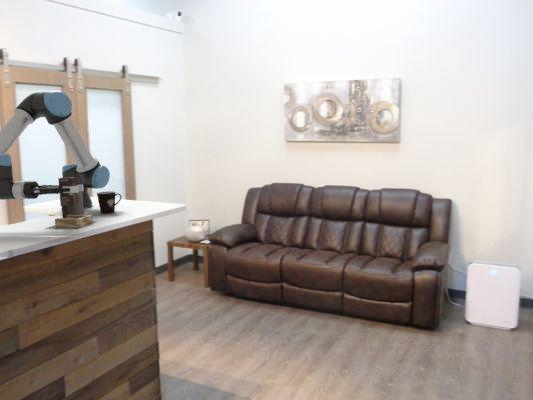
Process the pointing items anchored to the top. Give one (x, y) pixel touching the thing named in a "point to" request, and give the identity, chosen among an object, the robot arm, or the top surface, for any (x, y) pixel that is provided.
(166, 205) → the top surface
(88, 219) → the wooden tray
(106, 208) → the coffee mug
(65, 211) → the pillar candle
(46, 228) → the mat
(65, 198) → the box
